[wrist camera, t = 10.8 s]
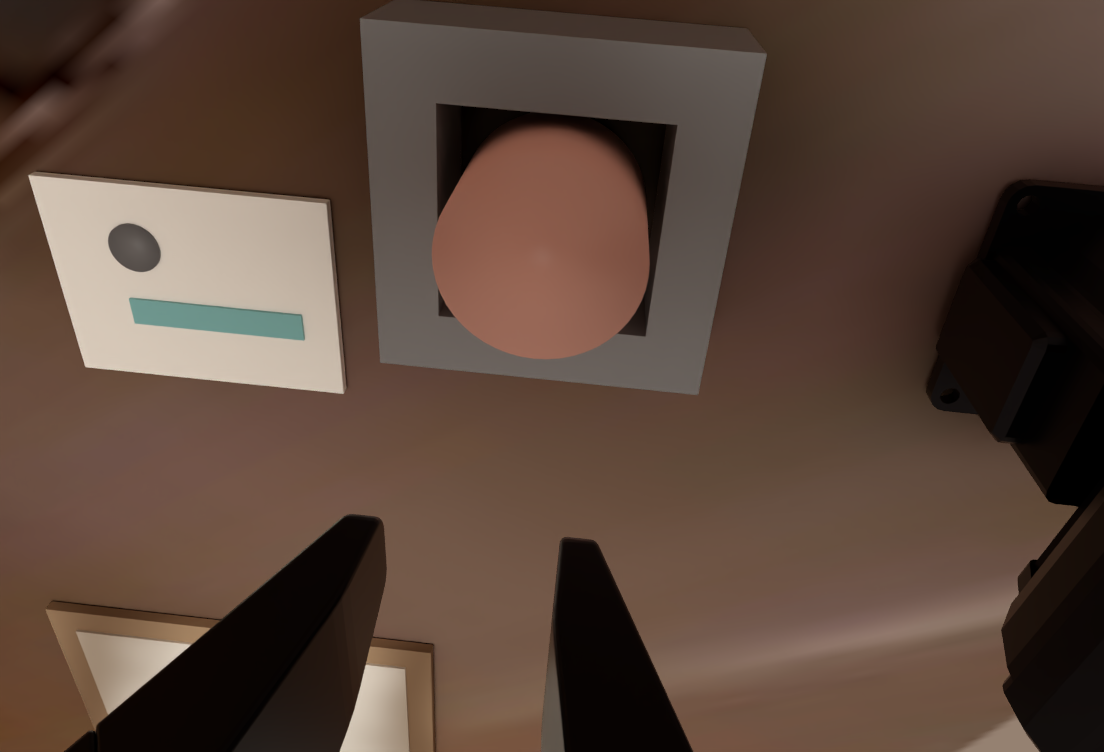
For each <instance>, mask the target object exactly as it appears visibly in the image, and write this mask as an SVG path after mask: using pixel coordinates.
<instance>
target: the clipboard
mask: <svg viewBox="0 0 1104 752" xmlns="http://www.w3.org/2000/svg"><path fill="white" fill-rule="evenodd" d="M45 610H46V612H47V615H48V617H49V620H50V622H51V624H52V627H53V629H54V632H55V634H56V637H57V639H58V641H59V644H60V646H61V649H62V651H63V654H64V656H65V658H66V661H67V663H68V666H69V668H70V671H71V673H72V676H73V678H74V680H75V683H76V685H77V688H78V690H79V693H80V695H81V697H82V700H83V702H84V705H85V707H86V710H87V712H88V714H89V717H90V719H91V722H92V724H93V727H94V729H95V731H96V725H97V724H98V723H99V722H100V721H101V720H103V719H104V718H105V717H106V716H107V715H109V714H110V713H111V712H112V711H113V710H114V709H116V708H117V707H118V706H119V705H120V704H122V703H123V702H124V701H125V700H126V699H128V698H129V697H130V696H131V695H132V694H133V693H135V692H136V691H137V690H138V689H139V688H141V687H142V686H143V685H144V684H145V683H147V682H148V681H149V680H150V679H151V678H152V677H154V676H155V675H156V674H157V673H158V672H160V671H161V670H162V669H163V668H164V667H165V666H167V665H168V664H169V663H170V662H171V661H173V660H174V659H175V658H176V657H177V656H179V655H180V654H181V653H182V652H183V651H184V650H186V649H187V648H188V647H189V646H190V645H192V644H193V643H194V642H195V641H196V640H197V639H199V638H200V637H201V636H202V635H203V634H205V633H206V632H207V631H208V630H209V629H211V628H212V627H213V626H214V625H215V624H216V623H218V622H219V621H220V620H212V619H204V618H195V617H186V616H177V615H168V614H160V613H151V612H142V611H133V610H125V609H116V608H107V607H98V606H89V605H81V604H72V603H63V602H54V601H51V603H50V604H49V605H48V606H47V608H46V609H45ZM340 752H435V713H434V667H433V645H432V644H423V643H414V642H405V641H397V640H388V639H379V638H372V641H371V645H370V649H369V653H368V657H367V662H366V666H365V670H364V674H363V678H362V682H361V686H360V690H359V694H358V698H357V702H356V705H355V709H354V712H353V715H352V718H351V721H350V724H349V727H348V730H347V733H346V736H345V739H344V741H343V744H342V747H341V749H340Z"/></svg>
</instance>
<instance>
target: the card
mask: <svg viewBox="0 0 1104 752" xmlns="http://www.w3.org/2000/svg"><path fill="white" fill-rule="evenodd" d="M28 176H29V179H30V183H31V186H32V189H33V193H34V196H35V199H36V203H37V206H38V209H39V213H40V216H41V219H42V223H43V226H44V230H45V233H46V236H47V240H48V243H49V246H50V250H51V253H52V256H53V260H54V263H55V266H56V270H57V273H58V277H59V280H60V283H61V287H62V290H63V293H64V297H65V300H66V303H67V307H68V310H69V313H70V317H71V320H72V324H73V327H74V330H75V334H76V337H77V340H78V344H79V347H80V350H81V354H82V357H83V360H84V364H85V367H90V368H99V369H109V370H119V371H128V372H138V373H148V374H157V375H167V376H177V377H186V378H196V379H206V380H215V381H225V382H235V383H244V384H254V385H264V386H273V387H283V388H293V389H302V390H312V391H322V392H331V393H341V394H344V392H345V390H346V389H347V387H346V376H345V365H344V353H343V342H342V331H341V319H340V308H339V297H338V285H337V274H336V263H335V251H334V240H333V229H332V217H331V206H330V200H329V199H318V198H308V197H297V196H287V195H276V194H266V193H255V192H245V191H234V190H224V189H213V188H203V187H192V186H182V185H171V184H161V183H150V182H140V181H129V180H118V179H108V178H97V177H87V176H76V175H66V174H55V173H45V172H34V173H32V174H30V175H28Z"/></svg>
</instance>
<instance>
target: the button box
mask: <svg viewBox="0 0 1104 752" xmlns="http://www.w3.org/2000/svg"><path fill="white" fill-rule="evenodd" d="M360 31H361V48H362V65H363V82H364V99H365V115H366V132H367V149H368V166H369V183H370V200H371V217H372V233H373V250H374V267H375V284H376V301H377V318H378V334H379V351H380V363H389V364H398V365H408V366H418V367H428V368H438V369H447V370H457V371H467V372H477V373H487V374H496V375H506V376H516V377H526V378H536V379H546V380H555V381H565V382H575V383H585V384H595V385H604V386H614V387H624V388H634V389H644V390H653V391H663V392H673V393H683V394H693V395H698V393H699V388H700V383H701V378H702V373H703V368H704V363H705V358H706V353H707V348H708V343H709V338H710V333H711V328H712V323H713V319H714V314H715V309H716V304H717V299H718V294H719V289H720V284H721V279H722V274H723V269H724V264H725V259H726V254H727V249H728V244H729V239H730V234H731V229H732V224H733V220H734V215H735V210H736V205H737V200H738V195H739V190H740V185H741V180H742V175H743V170H744V165H745V160H746V155H747V150H748V145H749V140H750V135H751V130H752V125H753V120H754V116H755V111H756V106H757V101H758V96H759V91H760V86H761V81H762V76H763V71H764V66H765V61H766V56H767V53H766V52H765V51H764V49H763V48H762V47H761V45H760V44H759V43H758V41H757V40H756V39H755V38H754V36H753V35H752V34H751V32H750V31H749V30H748V28H737V27H725V26H713V25H702V24H690V23H678V22H667V21H655V20H644V19H632V18H620V17H609V16H597V15H586V14H574V13H562V12H551V11H539V10H527V9H516V8H504V7H493V6H481V5H469V4H458V3H446V2H435V1H423V0H393V1H391V2H390V3H388V4H386V5H384V6H382V7H380V8H378V9H376V10H374V11H373V12H371V13H369V14H367V15H365V16H363V17H361V18H360ZM462 106H472V107H483V108H494V109H505V110H516V111H528V112H539V113H550V114H561V115H572V116H583V117H594V118H605V119H616V120H627V121H638V122H649V123H660V124H666V131H665V138H664V145H663V152H662V159H661V166H660V173H659V180H658V187H657V194H656V201H655V208H654V215H653V222H652V229H651V236H650V243H649V258H650V266H649V278H648V282H647V287H646V290H645V293H644V296H643V298H642V301H641V303H640V305H639V307H638V308H637V310H636V312H635V314H634V315H633V316H632V318H631V319H630V320H629V322H628V323H627V324H626V325H625V326H624V327H623V328H622V329H621V330H620V331H619V332H618V333H617V334H616V335H614V336H613V337H612V338H611V339H609V340H608V341H606V342H605V343H603V344H601V345H600V346H598V347H596V348H594V349H592V350H589V351H587V352H585V353H581V354H578V355H575V356H571V357H565V358H559V359H532V358H526V357H520V356H516V355H513V354H509V353H506V352H504V351H501V350H499V349H496V348H494V347H492V346H490V345H488V344H487V343H485V342H483V341H482V340H480V339H479V338H477V337H476V336H474V335H473V334H472V333H471V332H469V331H468V330H467V329H466V328H465V327H464V326H463V325H462V324H461V323H460V322H459V321H458V320H457V319H456V318H455V316H454V315H453V314H452V312H451V311H450V309H449V308H448V307H447V305H446V303H445V301H444V299H443V298H442V296H441V294H440V291H439V289H438V286H437V283H436V280H435V276H434V271H433V265H432V242H433V237H434V232H435V228H436V225H437V222H438V219H439V217H440V215H441V213H442V211H443V209H444V207H445V205H446V203H447V202H448V200H449V198H450V196H451V195H452V193H453V191H454V189H455V187H456V186H457V184H458V182H459V180H460V178H461V151H462Z"/></svg>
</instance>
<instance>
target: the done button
mask: <svg viewBox="0 0 1104 752" xmlns="http://www.w3.org/2000/svg"><path fill="white" fill-rule="evenodd" d="M432 265H433V271H434V276H435V280H436V283H437V286H438V289H439V291H440V294H441V296H442V298H443V299H444V301H445V303H446V305H447V307H448V308H449V309H450V311H451V312H452V314H453V315H454V316H455V318H456V319H457V320H458V321H459V322H460V323H461V324H462V325H463V326H464V327H465V328H466V329H467V330H468V331H469V332H471V333H472V334H473V335H474V336H476V337H477V338H479V339H480V340H482V341H483V342H485V343H487V344H488V345H490V346H492V347H494V348H496V349H499V350H501V351H504V352H506V353H509V354H513V355H516V356H520V357H526V358H532V359H559V358H565V357H571V356H575V355H578V354H581V353H585V352H587V351H589V350H592V349H594V348H596V347H598V346H600V345H601V344H603V343H605V342H606V341H608V340H609V339H611V338H612V337H613V336H614V335H616V334H617V333H618V332H619V331H620V330H621V329H622V328H623V327H624V326H625V325H626V324H627V323H628V322H629V320H630V319H631V318H632V316H633V315H634V314H635V312H636V310H637V308H638V307H639V305H640V303H641V301H642V298H643V296H644V293H645V290H646V287H647V282H648V278H649V266H650V258H649V239H648V219H647V200H646V189H645V184H644V179H643V176H642V173H641V170H640V167H639V165H638V163H637V161H636V159H635V158H634V156H633V154H632V153H631V151H630V150H629V149H628V147H627V146H626V145H625V144H624V142H623V141H622V140H621V139H620V138H619V137H618V136H617V135H616V134H614V133H613V132H612V131H611V130H609V129H608V128H607V127H605V126H604V125H602V124H600V123H599V122H597V121H595V120H593V119H590V118H588V117H583V116H572V115H561V114H550V113H539V112H532V113H528V114H524V115H521V116H519V117H516V118H514V119H511V120H510V121H508V122H506V123H504V124H503V125H501V126H500V127H498V128H497V129H496V130H494V131H493V132H492V133H491V134H490V135H489V136H488V137H487V138H486V139H485V140H484V141H483V142H482V143H481V145H480V146H479V147H478V149H477V150H476V152H475V153H474V155H473V157H472V159H471V160H470V162H469V164H468V166H467V168H466V169H465V171H464V173H463V175H462V177H461V178H460V180H459V182H458V184H457V186H456V187H455V189H454V191H453V193H452V195H451V196H450V198H449V200H448V202H447V203H446V205H445V207H444V209H443V211H442V213H441V215H440V217H439V219H438V222H437V225H436V228H435V232H434V237H433V242H432Z"/></svg>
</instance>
